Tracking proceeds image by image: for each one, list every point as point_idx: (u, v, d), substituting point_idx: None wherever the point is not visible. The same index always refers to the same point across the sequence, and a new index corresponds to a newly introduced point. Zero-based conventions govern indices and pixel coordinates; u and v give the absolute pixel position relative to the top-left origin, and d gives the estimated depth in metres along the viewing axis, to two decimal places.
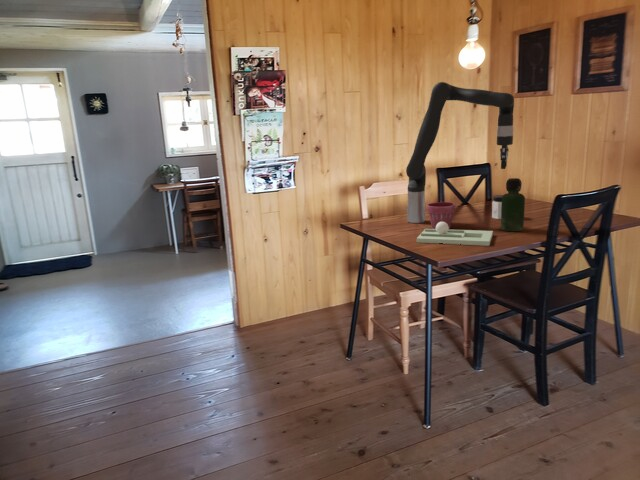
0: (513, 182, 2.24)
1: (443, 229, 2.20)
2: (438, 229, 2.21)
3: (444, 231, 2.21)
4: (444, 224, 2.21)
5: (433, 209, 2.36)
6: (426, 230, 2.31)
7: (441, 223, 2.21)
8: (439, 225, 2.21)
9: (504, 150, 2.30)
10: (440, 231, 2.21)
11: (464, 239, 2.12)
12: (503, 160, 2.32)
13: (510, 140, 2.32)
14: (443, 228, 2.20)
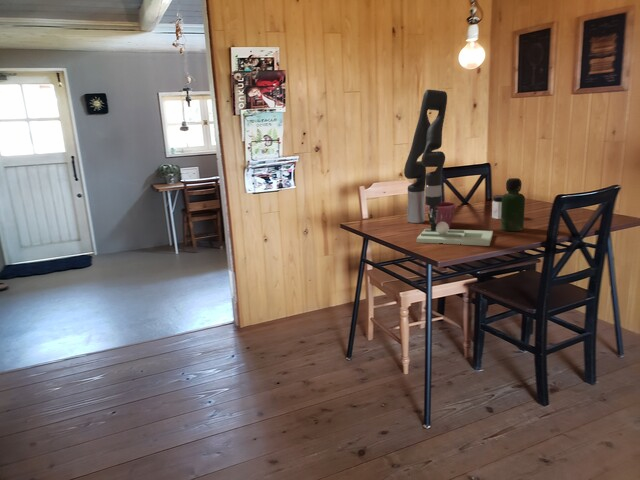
0: (513, 182, 2.24)
1: (443, 229, 2.20)
2: (438, 229, 2.21)
3: (444, 231, 2.21)
4: (444, 224, 2.21)
5: None
6: (426, 230, 2.31)
7: (441, 223, 2.21)
8: (439, 225, 2.21)
9: (431, 216, 2.18)
10: (440, 231, 2.21)
11: (464, 239, 2.12)
12: (432, 222, 2.22)
13: (438, 201, 2.18)
14: (443, 228, 2.20)
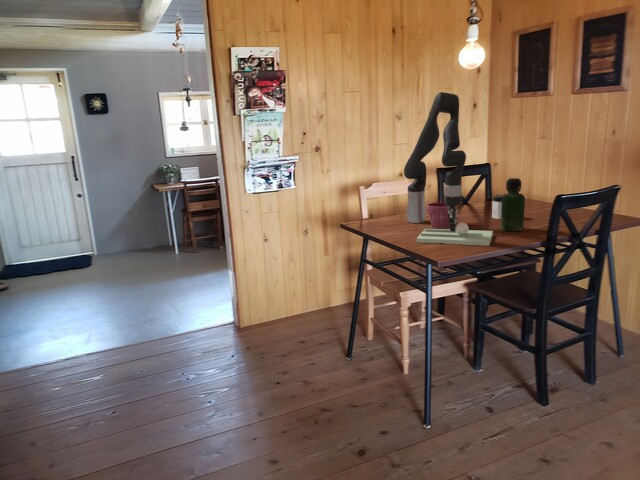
0: (513, 182, 2.24)
1: (458, 231, 2.18)
2: (462, 228, 2.17)
3: (456, 229, 2.18)
4: (461, 234, 2.18)
5: (433, 209, 2.36)
6: (426, 230, 2.31)
7: (464, 233, 2.18)
8: (464, 231, 2.17)
9: (451, 217, 2.14)
10: (459, 227, 2.17)
11: (464, 239, 2.12)
12: (452, 223, 2.18)
13: (458, 201, 2.14)
14: (459, 231, 2.18)
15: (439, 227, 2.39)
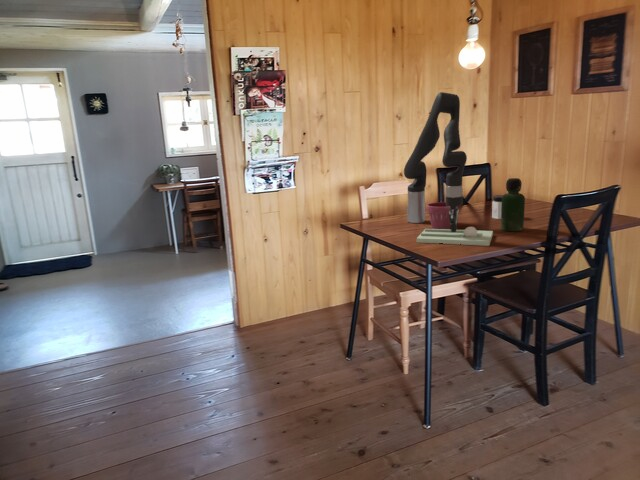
0: (513, 182, 2.24)
1: (468, 231, 2.16)
2: (472, 235, 2.16)
3: (469, 229, 2.16)
4: (464, 234, 2.18)
5: (433, 209, 2.36)
6: (426, 230, 2.31)
7: None
8: None
9: (452, 217, 2.15)
10: (472, 232, 2.16)
11: (464, 239, 2.12)
12: (453, 223, 2.18)
13: (459, 201, 2.15)
14: (467, 232, 2.17)
15: (439, 227, 2.39)
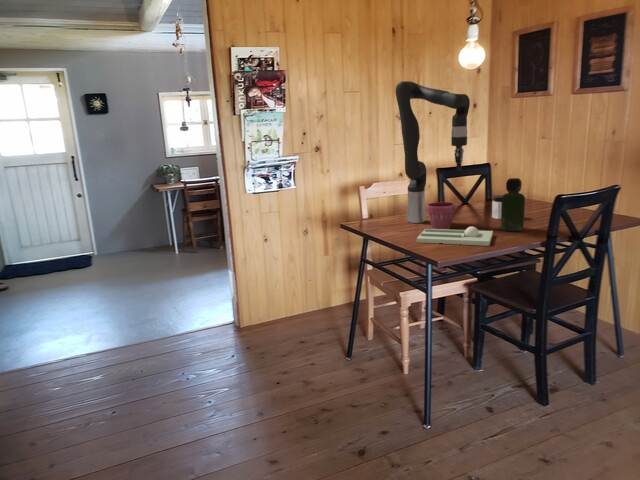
0: (513, 182, 2.24)
1: (470, 231, 2.16)
2: (473, 235, 2.16)
3: (471, 229, 2.16)
4: (465, 233, 2.18)
5: (433, 209, 2.36)
6: (426, 230, 2.31)
7: (466, 236, 2.18)
8: (469, 236, 2.17)
9: (458, 156, 2.31)
10: (474, 232, 2.16)
11: (464, 239, 2.12)
12: (458, 162, 2.35)
13: (464, 141, 2.31)
14: (469, 232, 2.16)
15: (439, 227, 2.39)
